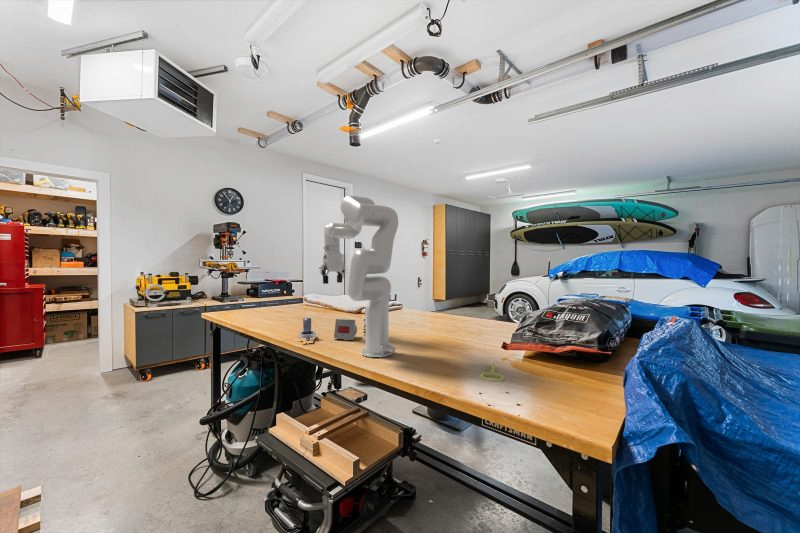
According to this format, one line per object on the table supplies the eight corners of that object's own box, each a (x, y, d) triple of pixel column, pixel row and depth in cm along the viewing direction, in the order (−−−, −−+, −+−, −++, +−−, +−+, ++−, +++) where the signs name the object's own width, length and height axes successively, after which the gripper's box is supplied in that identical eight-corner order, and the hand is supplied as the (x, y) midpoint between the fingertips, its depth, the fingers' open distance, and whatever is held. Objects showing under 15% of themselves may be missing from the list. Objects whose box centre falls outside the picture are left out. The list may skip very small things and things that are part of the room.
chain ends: (316, 343, 144) (316, 337, 144) (299, 345, 141) (299, 338, 141) (314, 332, 167) (314, 326, 167) (299, 333, 165) (299, 327, 165)
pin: (313, 338, 153) (312, 318, 153) (306, 340, 150) (306, 319, 150) (308, 337, 155) (307, 317, 155) (301, 339, 152) (301, 318, 152)
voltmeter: (334, 343, 145) (334, 321, 144) (332, 337, 156) (332, 317, 155) (390, 338, 152) (390, 318, 152) (384, 333, 163) (384, 314, 163)
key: (494, 369, 109) (494, 362, 109) (506, 382, 97) (506, 376, 97) (474, 369, 109) (474, 363, 109) (482, 383, 97) (482, 376, 97)
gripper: (324, 248, 150) (325, 284, 150) (349, 249, 164) (349, 282, 164) (313, 249, 154) (314, 283, 154) (339, 250, 168) (339, 282, 168)
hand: (332, 283), depth 159 cm, fingers open, 9 cm apart
